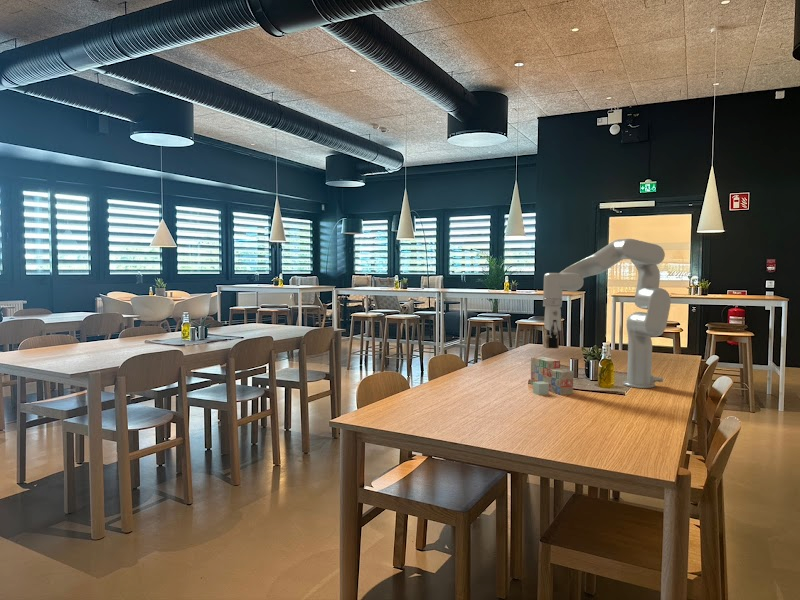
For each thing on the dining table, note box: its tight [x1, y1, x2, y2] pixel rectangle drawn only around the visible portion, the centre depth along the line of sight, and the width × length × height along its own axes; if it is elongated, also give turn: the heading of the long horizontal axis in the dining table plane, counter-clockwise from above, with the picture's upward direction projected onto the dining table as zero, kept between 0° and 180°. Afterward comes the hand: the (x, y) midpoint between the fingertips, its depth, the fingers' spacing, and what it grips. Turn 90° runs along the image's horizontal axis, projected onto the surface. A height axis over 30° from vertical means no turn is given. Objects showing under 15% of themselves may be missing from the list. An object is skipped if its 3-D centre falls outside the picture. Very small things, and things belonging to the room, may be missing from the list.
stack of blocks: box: [530, 356, 575, 396], centre depth 234 cm, size 21×6×12 cm, turn 20°
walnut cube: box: [543, 334, 560, 349], centre depth 233 cm, size 5×5×5 cm
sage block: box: [532, 381, 550, 396], centre depth 225 cm, size 4×4×4 cm
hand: (551, 346), depth 233 cm, fingers closed on walnut cube, 5 cm apart
